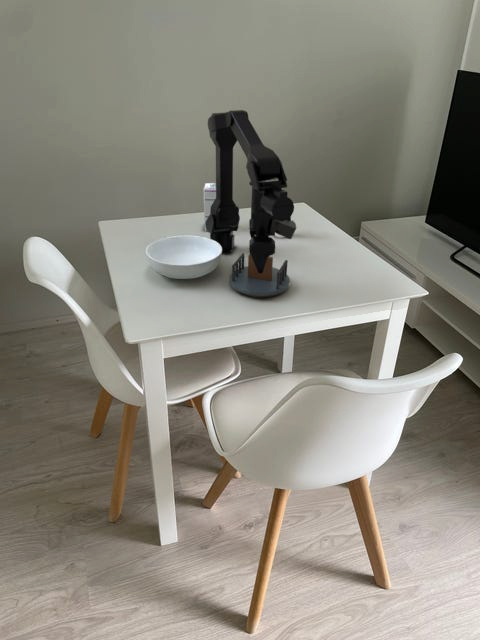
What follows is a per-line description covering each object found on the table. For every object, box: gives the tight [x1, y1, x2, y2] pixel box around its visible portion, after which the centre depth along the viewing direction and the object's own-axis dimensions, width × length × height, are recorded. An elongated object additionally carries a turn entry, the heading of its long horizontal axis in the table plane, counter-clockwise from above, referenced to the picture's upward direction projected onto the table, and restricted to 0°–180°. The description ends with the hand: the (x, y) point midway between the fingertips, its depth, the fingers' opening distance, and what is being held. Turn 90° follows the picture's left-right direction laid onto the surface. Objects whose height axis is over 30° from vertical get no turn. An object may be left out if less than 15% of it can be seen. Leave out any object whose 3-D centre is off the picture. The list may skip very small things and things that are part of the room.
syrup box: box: [202, 182, 216, 232], centre depth 171 cm, size 6×6×14 cm
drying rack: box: [229, 252, 291, 296], centre depth 137 cm, size 17×16×7 cm
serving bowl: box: [145, 234, 223, 280], centre depth 144 cm, size 21×21×7 cm
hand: (260, 265), depth 136 cm, fingers open, 9 cm apart
